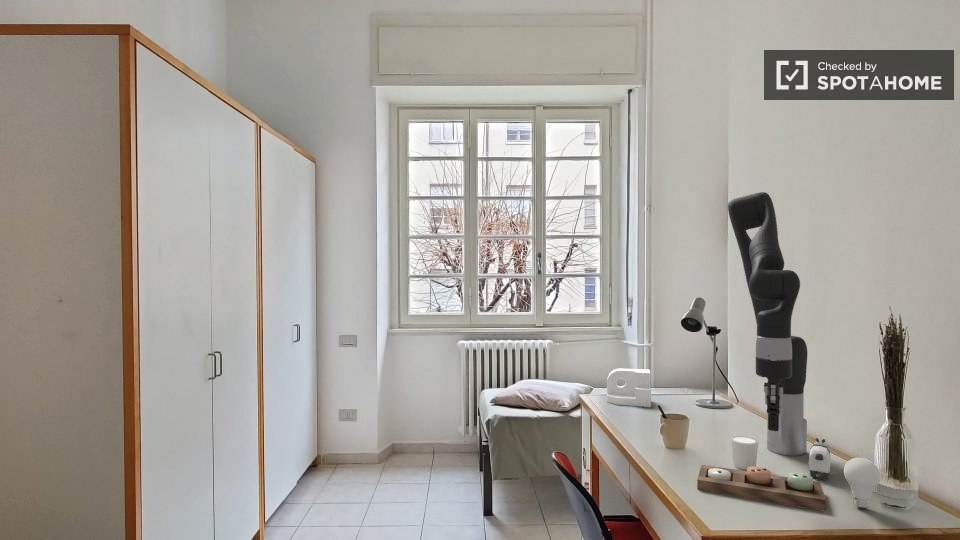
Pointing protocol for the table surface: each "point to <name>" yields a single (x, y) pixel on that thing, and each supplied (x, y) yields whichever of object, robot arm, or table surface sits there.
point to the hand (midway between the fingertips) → (773, 430)
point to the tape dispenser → (629, 387)
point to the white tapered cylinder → (743, 451)
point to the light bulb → (861, 480)
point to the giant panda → (819, 459)
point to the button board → (763, 489)
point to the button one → (719, 474)
